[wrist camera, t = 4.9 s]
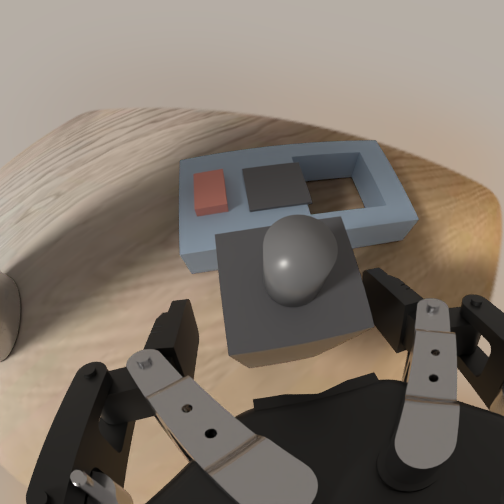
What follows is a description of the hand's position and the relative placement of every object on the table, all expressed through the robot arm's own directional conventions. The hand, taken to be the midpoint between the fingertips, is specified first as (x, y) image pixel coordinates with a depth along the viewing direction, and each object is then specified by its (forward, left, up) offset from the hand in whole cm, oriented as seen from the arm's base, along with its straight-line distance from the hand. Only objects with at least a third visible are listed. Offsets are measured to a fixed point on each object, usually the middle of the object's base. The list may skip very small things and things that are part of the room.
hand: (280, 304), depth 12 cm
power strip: (+3, +8, -5) cm, 10 cm away
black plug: (0, -1, -5) cm, 5 cm away
